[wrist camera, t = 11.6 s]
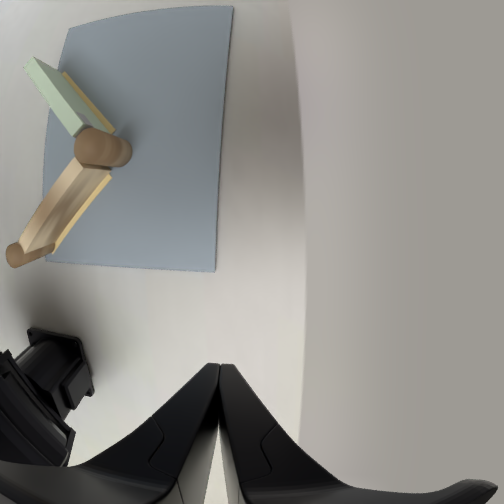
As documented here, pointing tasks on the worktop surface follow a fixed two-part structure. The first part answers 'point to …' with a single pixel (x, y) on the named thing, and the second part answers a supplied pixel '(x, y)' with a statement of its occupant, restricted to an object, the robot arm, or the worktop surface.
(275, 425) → the robot arm
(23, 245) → the wooden wall with posts
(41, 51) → the worktop surface
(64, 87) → the fence panel
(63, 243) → the board
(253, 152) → the worktop surface
